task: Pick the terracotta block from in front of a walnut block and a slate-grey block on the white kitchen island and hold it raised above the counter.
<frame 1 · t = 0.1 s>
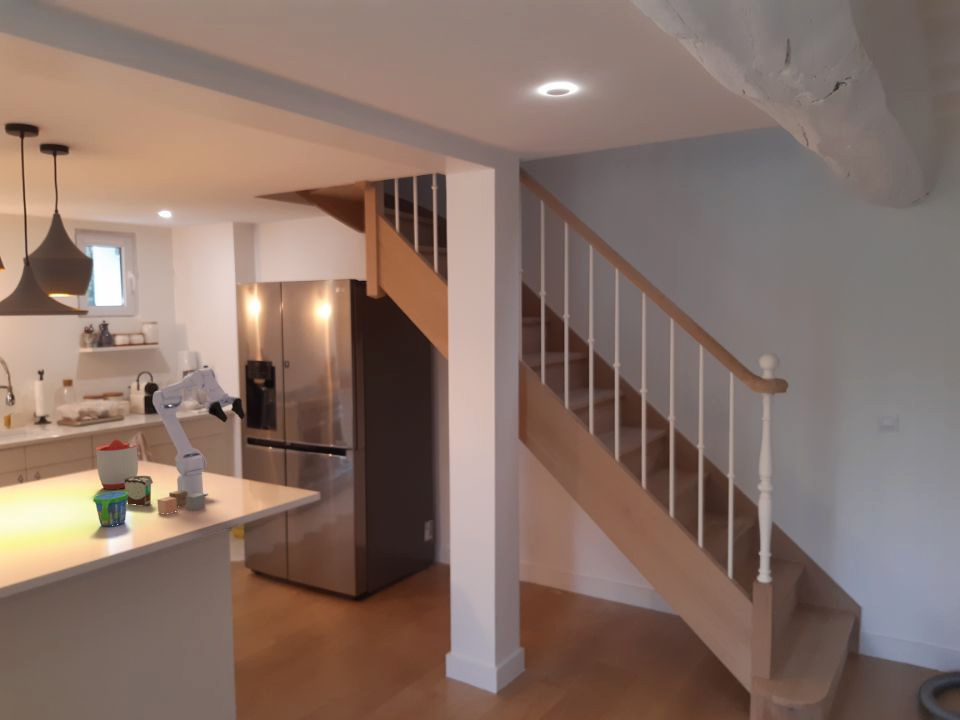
hand: (234, 418, 267), 32 cm above the countertop, tool tilted 50°, fingers open, 7 cm apart
citrus juicer: (121, 486, 305), on the countertop
food container: (143, 503, 276), on the countertop
slate block: (195, 508, 267), on the countertop
snack cup: (113, 524, 250), on the countertop
walnut block: (179, 505, 272), on the countertop
terracotta block: (167, 512, 263), on the countertop
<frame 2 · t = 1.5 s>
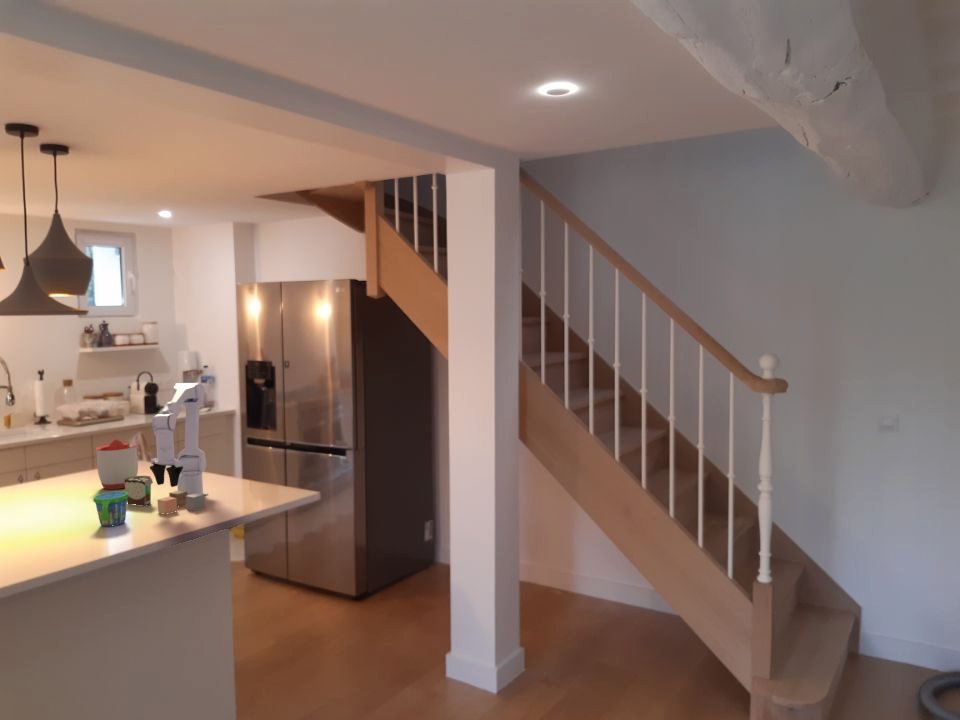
hand: (167, 485, 262), 10 cm above the countertop, tool pointing down, fingers open, 7 cm apart
nothing on the countertop moved.
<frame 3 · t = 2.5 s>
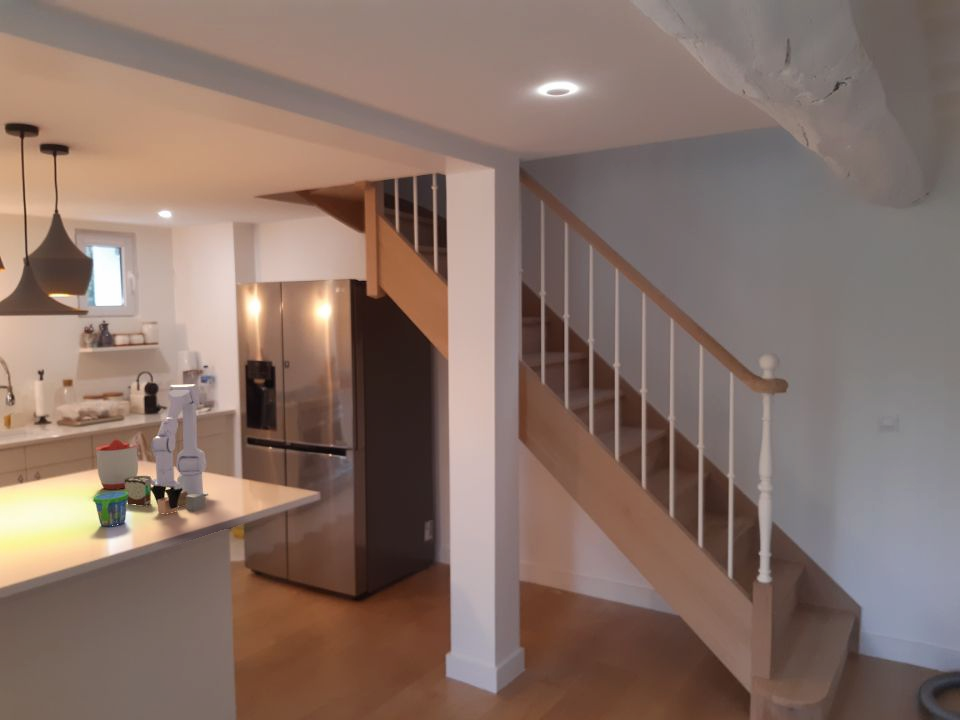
hand: (167, 506, 262), 2 cm above the countertop, tool pointing down, fingers open, 7 cm apart
nothing on the countertop moved.
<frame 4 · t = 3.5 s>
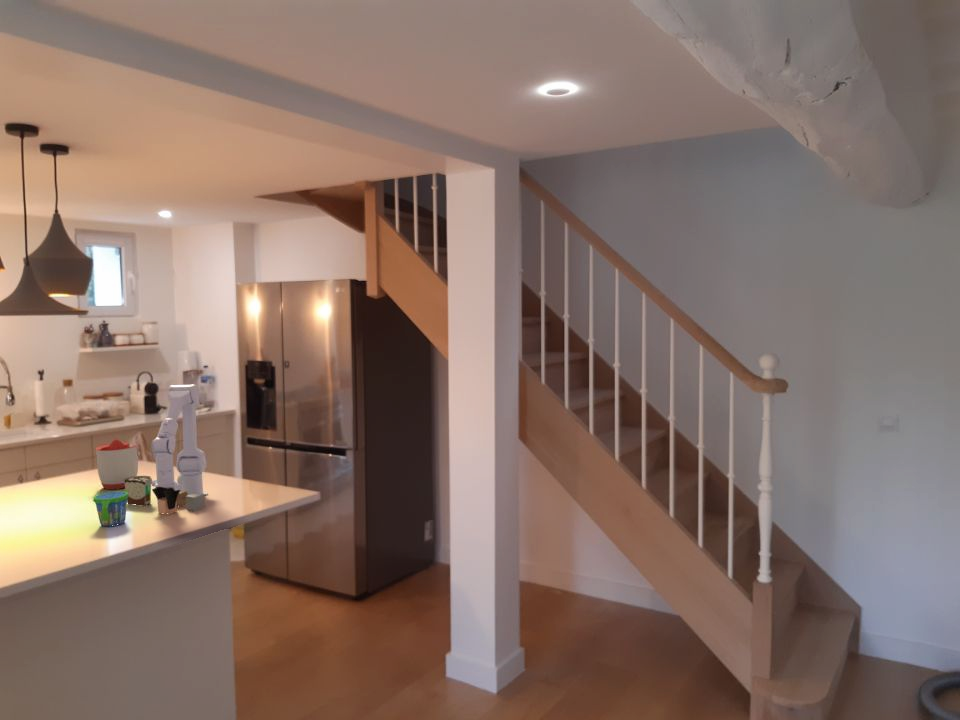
hand: (167, 507, 263), 2 cm above the countertop, tool pointing down, fingers closed on terracotta block, 4 cm apart
terracotta block: (167, 512, 263), on the countertop, touching gripper
everything else where it was.
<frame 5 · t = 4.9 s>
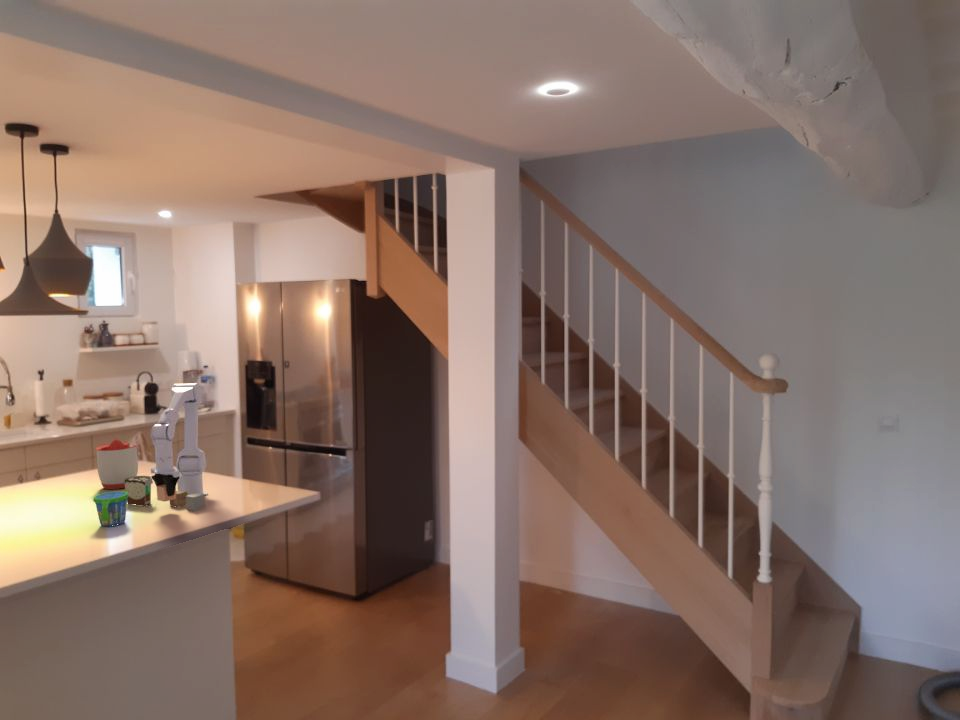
hand: (166, 494, 262), 6 cm above the countertop, tool pointing down, fingers closed on terracotta block, 4 cm apart
terracotta block: (166, 499, 262), point 5 cm above the countertop, touching gripper
everything else where it was.
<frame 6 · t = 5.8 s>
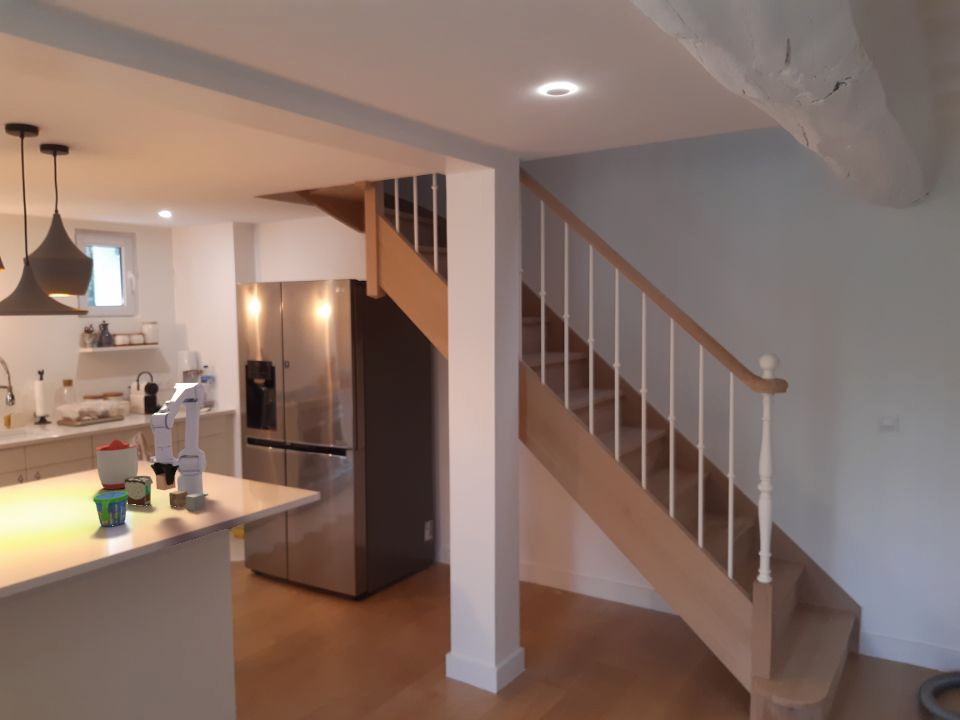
hand: (165, 483, 262), 10 cm above the countertop, tool pointing down, fingers closed on terracotta block, 4 cm apart
terracotta block: (166, 488, 262), point 9 cm above the countertop, touching gripper
everything else where it was.
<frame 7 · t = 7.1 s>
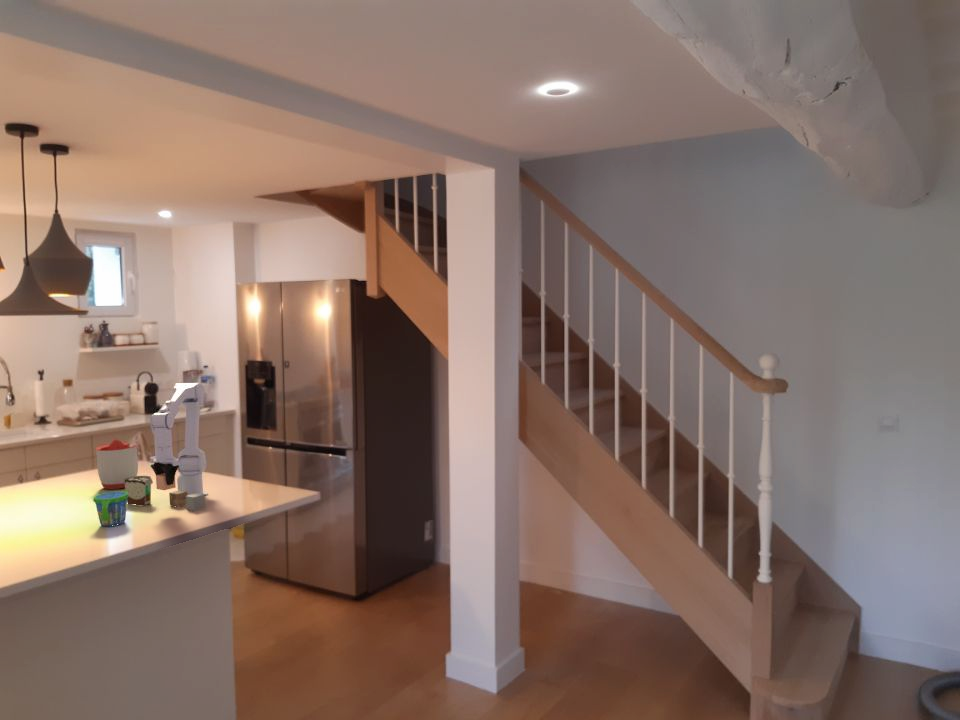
hand: (165, 483, 262), 10 cm above the countertop, tool pointing down, fingers closed on terracotta block, 4 cm apart
terracotta block: (166, 488, 262), point 9 cm above the countertop, touching gripper
everything else where it was.
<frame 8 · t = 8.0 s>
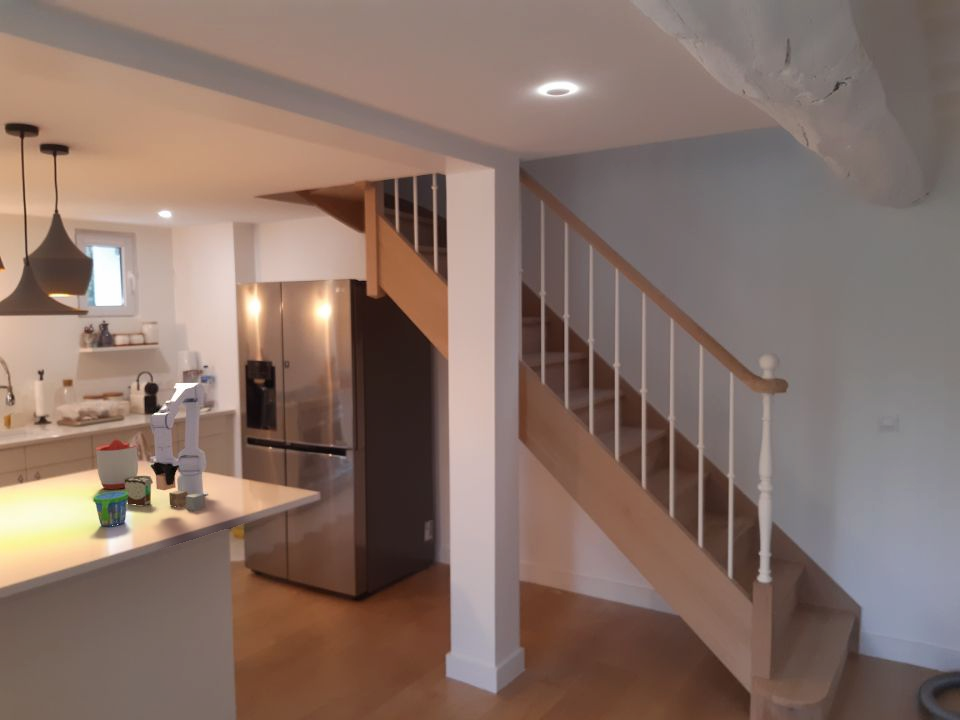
hand: (165, 483, 262), 10 cm above the countertop, tool pointing down, fingers closed on terracotta block, 4 cm apart
terracotta block: (166, 488, 262), point 9 cm above the countertop, touching gripper
everything else where it was.
at the end: the gripper is holding terracotta block; terracotta block point 8.8 cm above the countertop; walnut block moved 0.1 cm from its start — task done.
